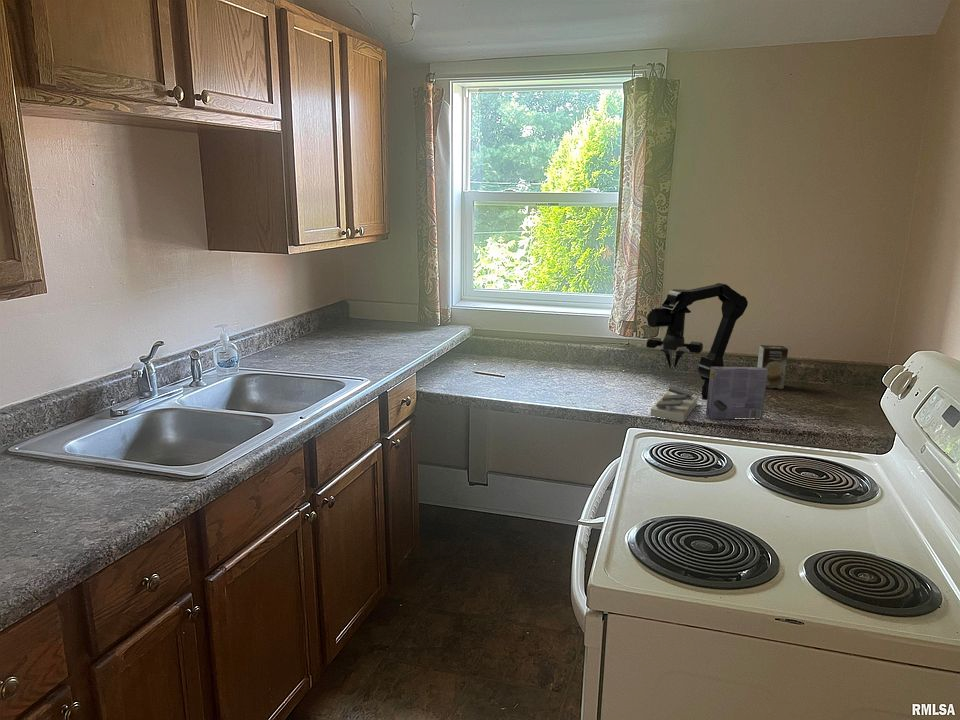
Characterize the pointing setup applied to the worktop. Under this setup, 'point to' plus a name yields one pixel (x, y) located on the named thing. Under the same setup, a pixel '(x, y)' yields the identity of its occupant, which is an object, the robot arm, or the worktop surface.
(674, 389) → the block
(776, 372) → the coffee box
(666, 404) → the plate
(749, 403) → the cake pan box
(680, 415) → the switch panel
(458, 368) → the worktop surface
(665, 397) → the block
